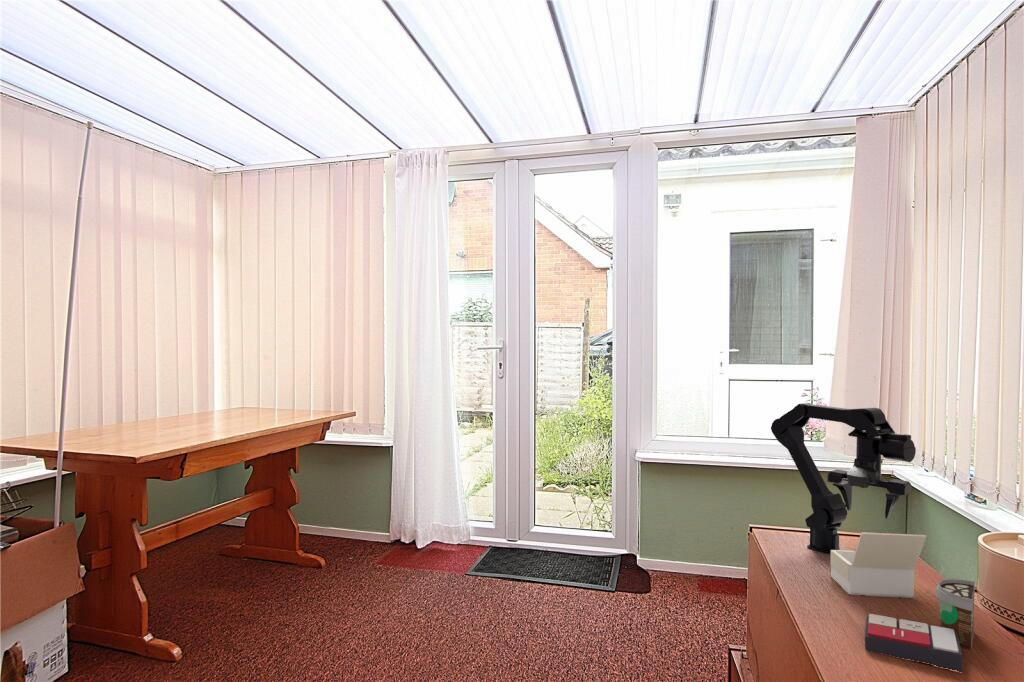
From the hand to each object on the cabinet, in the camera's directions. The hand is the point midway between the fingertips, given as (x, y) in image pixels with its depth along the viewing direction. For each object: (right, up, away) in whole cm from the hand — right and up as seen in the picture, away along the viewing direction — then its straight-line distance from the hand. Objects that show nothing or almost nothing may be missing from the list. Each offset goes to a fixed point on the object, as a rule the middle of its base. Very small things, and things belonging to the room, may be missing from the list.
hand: (867, 514), depth 162 cm
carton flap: (-9, -1, -24) cm, 25 cm away
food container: (-6, -13, -40) cm, 42 cm away
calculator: (-18, -14, -45) cm, 50 cm away
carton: (-9, -13, -16) cm, 23 cm away
